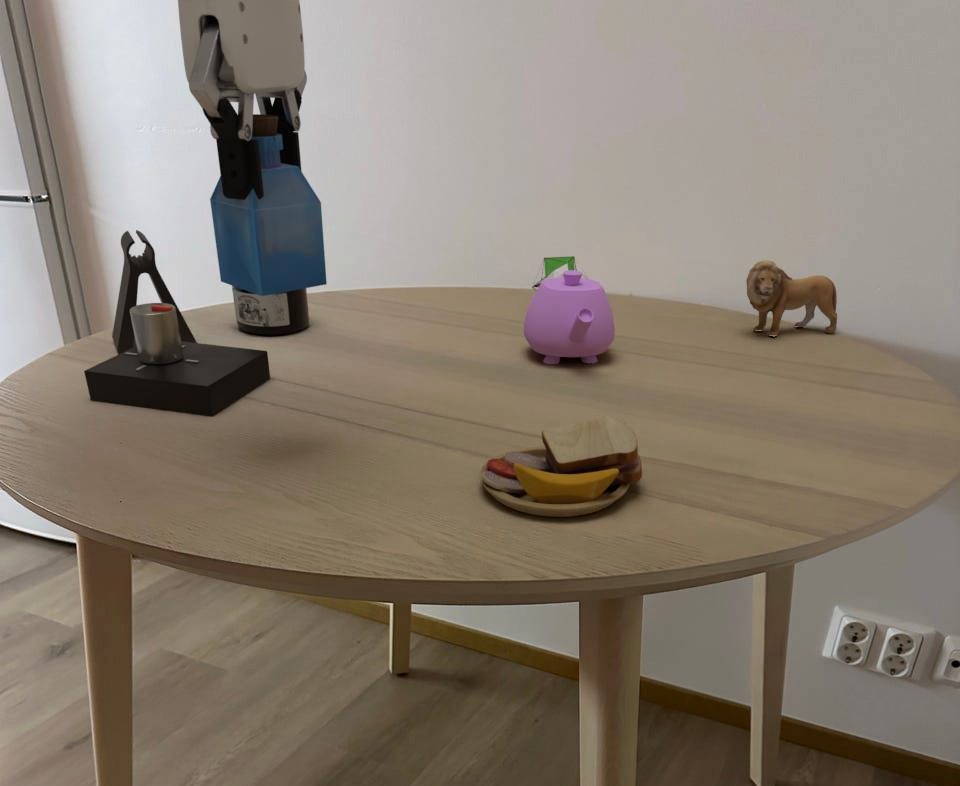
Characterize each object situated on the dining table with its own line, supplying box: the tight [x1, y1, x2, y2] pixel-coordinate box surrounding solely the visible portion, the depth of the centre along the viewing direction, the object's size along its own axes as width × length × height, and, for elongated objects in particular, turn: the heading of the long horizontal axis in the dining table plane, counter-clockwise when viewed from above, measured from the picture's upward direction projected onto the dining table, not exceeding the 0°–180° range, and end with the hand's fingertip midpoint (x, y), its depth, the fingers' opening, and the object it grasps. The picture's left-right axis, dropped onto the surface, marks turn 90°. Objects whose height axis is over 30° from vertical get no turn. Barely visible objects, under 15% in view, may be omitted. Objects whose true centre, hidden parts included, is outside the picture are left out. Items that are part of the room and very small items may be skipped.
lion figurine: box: [746, 259, 838, 336], centre depth 115 cm, size 15×5×9 cm, turn 112°
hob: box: [83, 341, 271, 417], centre depth 96 cm, size 14×12×3 cm
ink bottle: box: [231, 285, 310, 336], centre depth 113 cm, size 10×9×12 cm
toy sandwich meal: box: [478, 415, 643, 518], centre depth 76 cm, size 12×14×5 cm
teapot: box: [523, 269, 616, 365], centre depth 105 cm, size 10×15×9 cm
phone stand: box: [111, 229, 198, 355], centre depth 107 cm, size 9×6×12 cm, turn 113°
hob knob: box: [130, 302, 183, 364], centre depth 94 cm, size 4×4×5 cm
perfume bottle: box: [209, 113, 328, 296], centre depth 73 cm, size 6×6×12 cm
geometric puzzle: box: [531, 255, 589, 292], centre depth 124 cm, size 7×7×8 cm
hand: (264, 190), depth 72 cm, fingers closed on perfume bottle, 5 cm apart
